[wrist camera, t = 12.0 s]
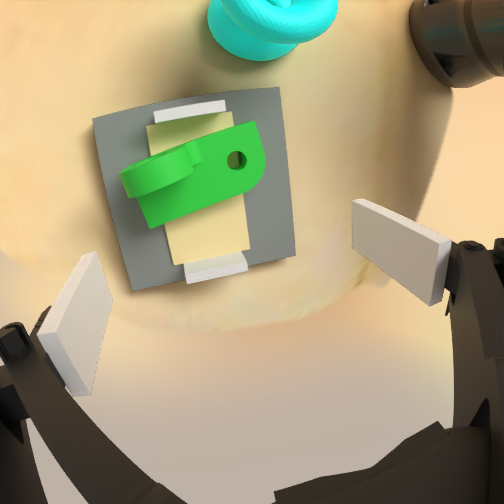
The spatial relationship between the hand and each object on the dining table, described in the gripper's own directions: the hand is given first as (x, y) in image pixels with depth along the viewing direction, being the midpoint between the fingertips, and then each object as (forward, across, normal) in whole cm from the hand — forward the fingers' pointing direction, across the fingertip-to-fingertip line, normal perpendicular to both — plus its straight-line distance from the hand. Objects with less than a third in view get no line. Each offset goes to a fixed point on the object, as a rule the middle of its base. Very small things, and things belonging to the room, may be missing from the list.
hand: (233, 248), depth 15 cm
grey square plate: (+18, 0, 0) cm, 18 cm away
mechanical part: (+16, 0, -2) cm, 16 cm away
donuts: (+18, -8, -17) cm, 26 cm away
